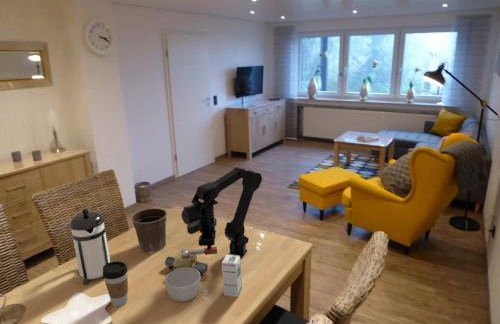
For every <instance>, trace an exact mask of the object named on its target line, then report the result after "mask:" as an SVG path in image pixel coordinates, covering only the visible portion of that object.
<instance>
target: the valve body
mask: <svg viewBox="0 0 500 324" xmlns="http://www.w3.org/2000/svg"><path fill="white" fill-rule="evenodd" d="M197 255H198V254H195V255H189V256H188V257H182V255H181V251H180V252H179V253H178V254H177V255H176V256H175V257H173V256H167V257H166V259H165V261H164V265H165V266H166V267H167V270H170V271H174V270H176V269H179V268H193V269H196V270H198V271H199V273H200V276H201V277H203V275H204V274H206V273H207V271H208V269H209V266H208V263H205V262H200V261H199V260H198V259H197V258H198V257H197Z"/></svg>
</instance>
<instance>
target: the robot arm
mask: <svg viewBox="0 0 500 324" xmlns="http://www.w3.org/2000/svg"><path fill="white" fill-rule="evenodd" d="M241 179H242V181H241V184H242V192H241V194H240V198H239V201H238V204H237V207H236V210H235V213H234V216H233V219H232V220H231V221H230V222H229V221H227V222H226V224H225V225H226V226H225V229H224V235H225V237H226V238H227V240H229V241H230V243H229V254H228V255H238V256H240V259H243V258H244V256H245V255H246V254H247V253H248V249H247V244H249V237H248V236H246V235H245V230H246V229H245V221H246V217H247V214H248V210H249V208H250V204H251V202H252V199H253V195H254V193H255V192H256V191H257V190H258V189H259V188H260V186H261V183H262V181H263V176H262V174H261V173H260V172H256V171H254V170H251V169H248V170H246V169H245V168H243V167H238V166H236V167H234V168H233V169H232V170H230V171H229V172H227V173H226V174H224V175H222V176H221V177H219V178H217V179H216V180H215V181H212V182H207V183H204V184H201V185H199V186H198V187H197V188H196V191H195V194H194V196H193V198H192V200H191V205H186V206H184V207H183V210H182V211H181V214H180V216H181V218H182V221H183V223H184V224H186V225H187V226H186V229H187V231H186V233H188V234H189V235H193V234H196V233H198V232H199V233H201V234H200V236H199V238H198V246H200V247H214V246H215V245H216V243H215V242H216V234H217V231H216V226H217V218H216V216H215V205H218V204H219V202H218V200H216V199H217V198H218V196H219V194H220V193H221V192H222V191H224V190H225V189H227V188H228V187H229V186H231V185H233V184H234V183H236V182H237V181H239V180H241Z"/></svg>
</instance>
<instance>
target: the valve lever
mask: <svg viewBox="0 0 500 324" xmlns="http://www.w3.org/2000/svg"><path fill="white" fill-rule="evenodd" d="M180 252H181V255H182V257H188V256H189V255H195V254H196V255H203V254H204V256H206V255H208V256H209V255H218V246H211V247H207V246H205V247H204V248H202V249H192V250H191V249H190V250H189V249H185V248H184V249H182V250H181V251H180Z"/></svg>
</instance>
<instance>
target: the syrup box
mask: <svg viewBox="0 0 500 324" xmlns="http://www.w3.org/2000/svg"><path fill="white" fill-rule="evenodd" d="M241 268H242V267H241V258H240V256H238V255H229V254H225V256H224V257H223V260H222V261H221V272H222V284H223V285H222V287H223V295H224V297H225V296H226V297H233V298H239V296H240V294H241V291H242V288H243V287H242V285H243V283H242V270H241Z"/></svg>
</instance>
